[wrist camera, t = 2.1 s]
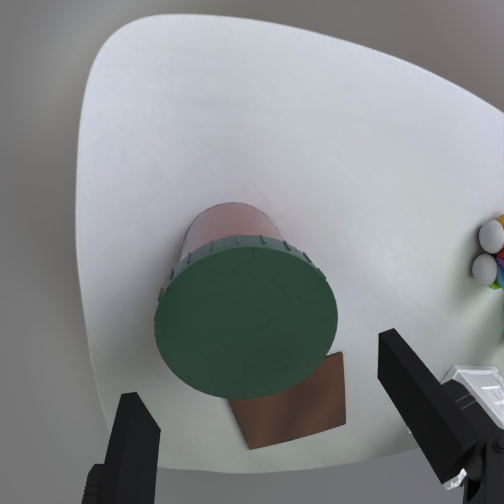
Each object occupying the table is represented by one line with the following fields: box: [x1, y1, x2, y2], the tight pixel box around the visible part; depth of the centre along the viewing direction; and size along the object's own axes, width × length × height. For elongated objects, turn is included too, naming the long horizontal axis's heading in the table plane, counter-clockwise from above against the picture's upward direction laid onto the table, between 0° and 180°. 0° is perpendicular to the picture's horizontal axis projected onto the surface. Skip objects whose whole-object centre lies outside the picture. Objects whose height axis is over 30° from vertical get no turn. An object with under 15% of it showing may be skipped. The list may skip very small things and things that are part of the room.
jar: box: [178, 203, 288, 264], centre depth 23 cm, size 9×9×13 cm
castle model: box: [406, 364, 504, 490], centre depth 36 cm, size 14×14×15 cm
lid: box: [154, 234, 338, 399], centre depth 17 cm, size 10×10×2 cm
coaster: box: [228, 352, 346, 450], centre depth 36 cm, size 14×14×1 cm
